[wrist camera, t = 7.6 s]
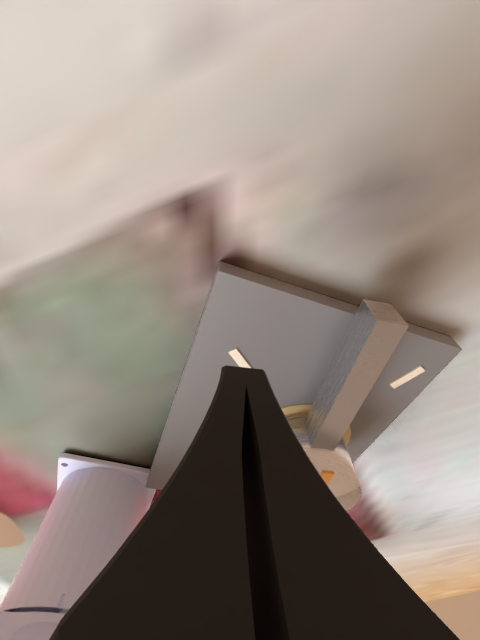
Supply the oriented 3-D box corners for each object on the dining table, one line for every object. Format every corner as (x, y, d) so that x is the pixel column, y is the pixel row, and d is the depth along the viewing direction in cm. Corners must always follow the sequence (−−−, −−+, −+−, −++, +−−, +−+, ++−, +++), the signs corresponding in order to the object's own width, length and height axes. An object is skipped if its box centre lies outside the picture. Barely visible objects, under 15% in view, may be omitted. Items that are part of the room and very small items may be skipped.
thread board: (300, 501, 28) (302, 516, 27) (149, 472, 25) (144, 488, 24) (449, 336, 18) (463, 350, 17) (219, 260, 15) (218, 271, 14)
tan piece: (326, 470, 22) (340, 526, 19) (252, 461, 22) (254, 518, 19) (426, 305, 15) (477, 355, 11) (316, 286, 14) (337, 333, 11)
